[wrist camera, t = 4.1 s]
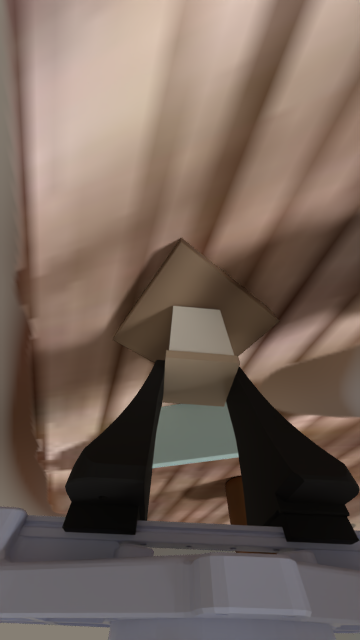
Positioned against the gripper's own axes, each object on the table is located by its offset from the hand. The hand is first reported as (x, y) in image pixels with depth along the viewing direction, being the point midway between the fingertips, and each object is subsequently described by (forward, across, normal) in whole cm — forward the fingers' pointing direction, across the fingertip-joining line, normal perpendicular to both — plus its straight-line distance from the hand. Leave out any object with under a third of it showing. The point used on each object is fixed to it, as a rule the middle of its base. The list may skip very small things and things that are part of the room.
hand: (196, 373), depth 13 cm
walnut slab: (+8, 0, 0) cm, 8 cm away
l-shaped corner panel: (+8, -4, +19) cm, 21 cm away
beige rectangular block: (+5, 0, 0) cm, 5 cm away
